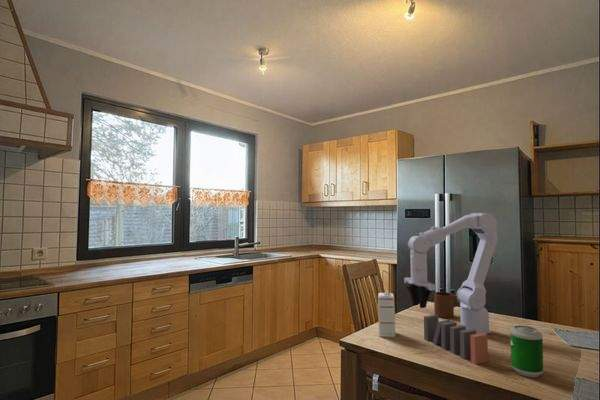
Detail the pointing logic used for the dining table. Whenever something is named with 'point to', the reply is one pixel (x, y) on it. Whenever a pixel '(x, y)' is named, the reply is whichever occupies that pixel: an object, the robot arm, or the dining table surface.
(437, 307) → the mug
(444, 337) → the domino
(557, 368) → the dining table surface
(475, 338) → the domino
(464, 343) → the domino
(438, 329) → the domino
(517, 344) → the soda can
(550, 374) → the dining table surface
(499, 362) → the dining table surface
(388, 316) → the syrup box
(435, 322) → the domino
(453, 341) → the domino
